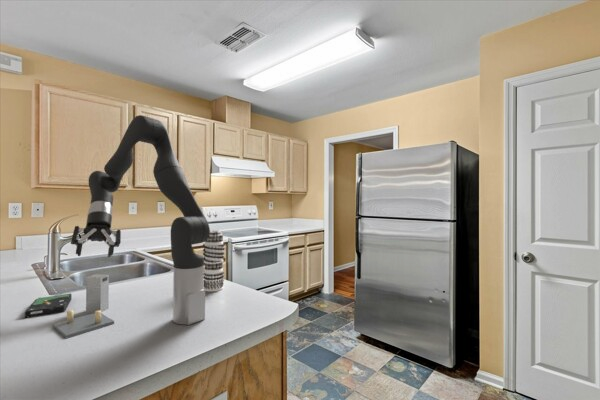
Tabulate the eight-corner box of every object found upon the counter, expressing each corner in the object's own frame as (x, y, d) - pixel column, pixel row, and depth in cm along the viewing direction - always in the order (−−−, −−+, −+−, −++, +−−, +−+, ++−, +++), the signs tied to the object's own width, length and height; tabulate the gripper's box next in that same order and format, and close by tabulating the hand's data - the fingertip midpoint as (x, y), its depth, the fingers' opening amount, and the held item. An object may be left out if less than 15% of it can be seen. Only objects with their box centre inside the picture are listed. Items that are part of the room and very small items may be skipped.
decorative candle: (215, 292, 120) (216, 232, 120) (197, 290, 124) (198, 231, 123) (228, 286, 129) (229, 230, 129) (211, 284, 132) (212, 229, 132)
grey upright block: (108, 308, 102) (108, 274, 102) (100, 312, 98) (100, 277, 98) (94, 308, 102) (94, 274, 102) (85, 312, 98) (86, 277, 98)
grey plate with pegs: (114, 323, 90) (114, 309, 90) (66, 338, 80) (66, 322, 80) (98, 314, 97) (98, 301, 97) (53, 326, 87) (53, 312, 87)
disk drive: (65, 313, 99) (71, 299, 112) (65, 305, 99) (71, 292, 111) (24, 320, 93) (35, 304, 106) (24, 311, 93) (35, 297, 106)
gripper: (77, 207, 101) (69, 249, 93) (124, 213, 110) (121, 251, 102) (74, 219, 106) (67, 259, 97) (119, 223, 115) (116, 261, 106)
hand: (94, 255), depth 99 cm, fingers open, 8 cm apart
